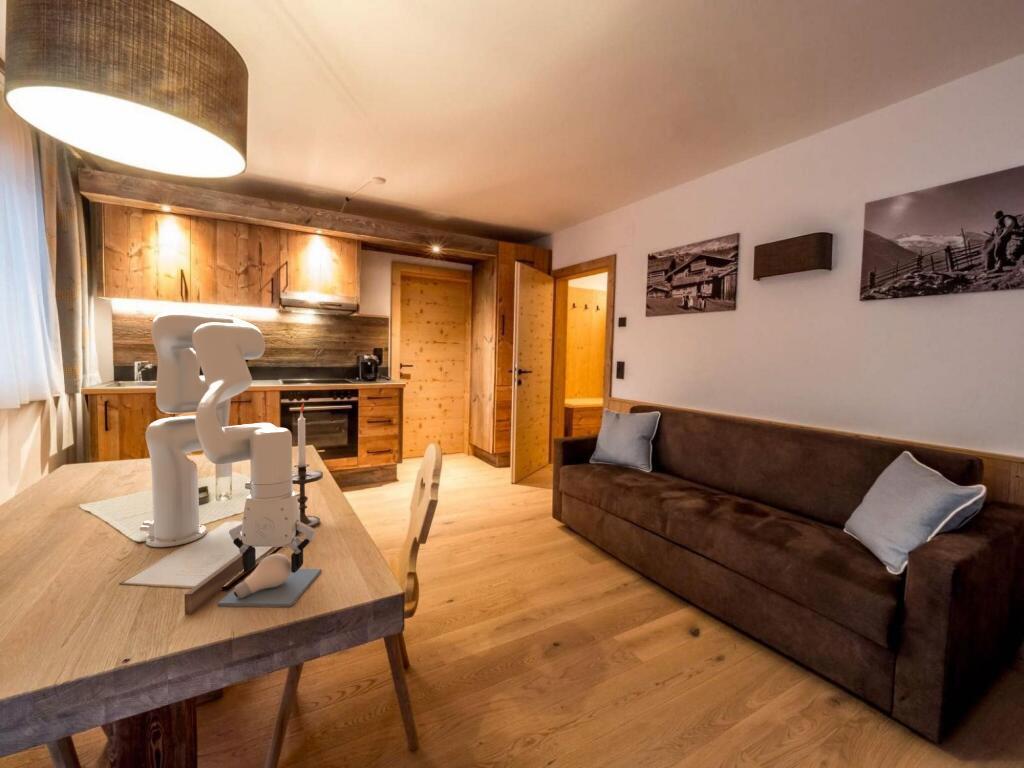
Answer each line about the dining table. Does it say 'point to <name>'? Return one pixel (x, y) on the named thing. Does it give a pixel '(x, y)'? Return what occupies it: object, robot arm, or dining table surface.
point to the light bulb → (265, 575)
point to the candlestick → (304, 474)
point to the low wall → (212, 585)
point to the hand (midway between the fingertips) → (273, 569)
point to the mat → (276, 592)
